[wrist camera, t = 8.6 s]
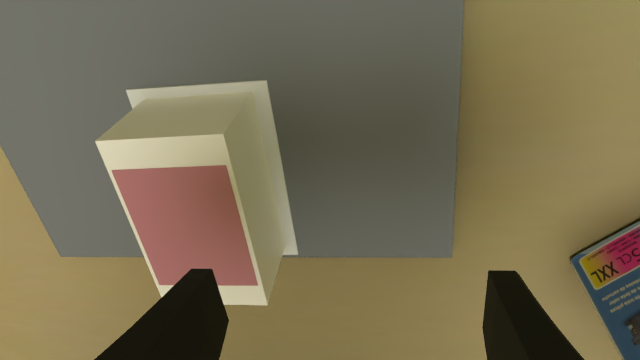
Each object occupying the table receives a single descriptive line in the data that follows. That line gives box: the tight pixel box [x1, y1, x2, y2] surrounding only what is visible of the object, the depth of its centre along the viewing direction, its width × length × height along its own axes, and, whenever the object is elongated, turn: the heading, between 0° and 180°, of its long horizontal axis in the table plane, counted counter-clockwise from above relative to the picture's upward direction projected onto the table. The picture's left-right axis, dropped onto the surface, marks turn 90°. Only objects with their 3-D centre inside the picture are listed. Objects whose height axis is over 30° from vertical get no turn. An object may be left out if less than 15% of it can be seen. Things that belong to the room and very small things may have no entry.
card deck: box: [95, 92, 285, 305], centre depth 20 cm, size 5×8×4 cm, turn 7°
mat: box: [0, 0, 464, 258], centre depth 20 cm, size 18×22×1 cm
